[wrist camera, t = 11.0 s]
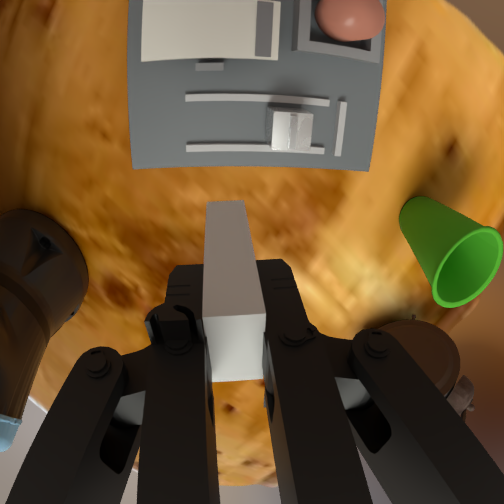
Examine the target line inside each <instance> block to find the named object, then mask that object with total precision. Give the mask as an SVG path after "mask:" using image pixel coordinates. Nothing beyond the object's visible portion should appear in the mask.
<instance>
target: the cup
mask: <svg viewBox="0 0 504 504" xmlns="http://www.w3.org/2000/svg"><path fill="white" fill-rule="evenodd" d="M399 223H400V228H401V231H402V233H403V234H404V236H405V238H406V240H407V241H408V243H409V245H410V247H411V249H412V251H413V252H414V254H415V256H416V258H417V260H418V262H419V264H420V265H421V267H422V269H423V271H424V273H425V275H426V277H427V279H428V281H429V283H430V285H431V287H432V295H433V299H434V300H435V301H436V303H437V304H439V305H441V306H443V307H447V308H454V307H458V306H461V305H463V304H466V303H468V302H469V301H471V300H472V299H474V298H475V297H476V296H478V295H479V294H480V293H481V292H482V291H483V290H484V289H485V288H486V287H487V285H488V284H489V283H490V281H491V280H492V279H493V277H494V276H495V274H496V272H497V270H498V268H499V265H500V262H501V259H502V254H503V242H502V239H501V236H500V233H499V232H498V231H497V230H496V229H495V228H492V227H490V226H483V225H481V224H479V223H477V222H475V221H474V220H472V219H470V218H468V217H466V216H464V215H462V214H461V213H459V212H457V211H455V210H453V209H451V208H449V207H447V206H445V205H443V204H441V203H439V202H437V201H435V200H433V199H431V198H429V197H426V196H418V197H414V198H412V199H410V200H409V201H408V202H407V203H406V204H405V205H404V206H403V208H402V210H401V213H400V216H399Z"/></svg>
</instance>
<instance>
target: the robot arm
mask: <svg viewBox="0 0 504 504" xmlns="http://www.w3.org/2000/svg"><path fill="white" fill-rule="evenodd" d="M87 289H88V272H87V267H86V264H85V261H84V259H83V256H82V254H81V252H80V250H79V249H78V247H77V245H76V244H75V242H74V241H73V240H72V238H71V237H70V236H69V235H68V234H67V233H66V232H65V231H64V230H63V229H62V228H61V227H60V226H59V225H58V224H57V223H55V222H54V221H52V220H51V219H49V218H48V217H46V216H44V215H42V214H40V213H37V212H34V211H30V210H24V209H17V210H12V211H8V212H6V213H4V214H3V215H1V216H0V452H3V451H5V450H7V449H9V448H10V447H11V445H12V442H13V439H14V437H15V434H16V432H17V429H18V427H19V425H20V424H21V423H22V415H23V412H24V408H25V405H26V402H27V399H28V396H29V393H30V390H31V387H32V384H33V381H34V378H35V375H36V373H37V370H38V367H39V365H40V362H41V359H42V357H43V354H44V352H45V349H46V347H47V344H48V342H49V340H50V338H51V337H52V336H53V335H54V334H55V333H56V332H57V331H58V330H59V329H60V328H61V327H62V325H63V324H64V323H65V322H66V321H68V320H69V319H71V318H72V317H73V316H74V315H75V314H76V313H77V311H78V310H79V308H80V306H81V304H82V302H83V299H84V297H85V295H86V292H87ZM144 322H145V325H146V328H147V331H148V335H149V338H150V341H151V345H149V346H148V347H146V348H144V349H142V350H139V351H137V352H133V353H129V354H125V355H122V356H121V355H120V354H119V353H118V352H117V351H116V350H114V349H112V348H110V347H101V346H100V347H96V348H92V349H90V350H88V351H86V352H85V353H83V354H82V355H81V356H80V358H79V359H78V360H77V361H76V363H75V365H74V367H73V368H72V370H71V372H70V373H69V375H68V377H67V379H66V380H65V382H64V384H63V386H62V388H61V389H60V391H59V393H58V395H57V397H56V398H55V400H54V402H53V404H52V406H51V408H50V410H49V411H48V413H47V415H46V417H45V419H44V421H43V423H42V425H41V427H40V429H39V431H38V433H37V435H36V437H35V439H34V441H33V443H32V445H31V447H30V449H29V451H28V453H27V455H26V458H25V460H24V462H23V464H22V466H21V469H20V471H19V473H18V475H17V478H16V480H15V482H14V484H13V487H12V489H11V491H10V494H9V496H8V499H7V501H6V503H5V504H120V502H121V499H122V495H123V493H124V490H125V487H126V484H127V481H128V478H129V475H130V473H131V470H132V467H133V464H134V461H135V458H136V455H137V453H138V450H139V447H140V453H139V468H138V486H137V504H220V495H219V481H218V466H217V450H216V433H215V412H214V396H213V391H212V382H221V381H238V380H252V379H263V375H264V381H265V394H264V407H266V408H267V415H268V421H269V428H270V434H271V441H272V447H273V454H274V460H275V466H276V473H277V479H278V485H279V492H280V498H281V504H373V502H372V499H371V495H370V492H369V489H368V485H367V481H366V478H365V474H364V471H363V467H362V464H361V460H360V457H359V454H358V451H357V447H358V449H359V451H360V452H361V454H362V456H363V457H364V459H365V460H366V462H367V463H368V465H369V467H370V468H371V470H372V472H373V473H374V475H375V476H376V478H377V480H378V481H379V483H380V485H381V486H382V488H383V489H384V491H385V492H386V494H387V496H388V497H389V499H390V501H391V502H392V504H504V474H503V473H502V472H501V470H500V469H499V467H498V466H497V465H496V463H495V462H494V461H493V459H492V458H491V457H490V455H489V454H488V453H487V451H486V450H485V449H484V447H483V446H482V444H481V443H480V442H479V440H478V439H477V438H476V437H475V435H474V434H473V433H472V431H471V430H470V429H469V427H468V426H467V425H466V424H465V422H464V421H463V420H462V418H461V417H460V416H459V415H458V413H457V412H456V411H455V409H454V408H453V407H452V406H451V404H450V403H449V402H448V401H447V399H446V398H445V397H444V396H443V394H442V393H441V392H440V391H439V389H438V388H437V387H436V386H435V385H434V383H433V382H432V381H431V380H430V378H429V377H428V376H427V375H426V374H425V372H424V371H423V370H422V369H421V368H420V366H419V365H418V364H417V363H416V362H415V360H414V359H413V358H412V357H411V356H410V355H409V353H408V352H407V351H406V350H405V349H404V347H403V346H402V345H401V344H400V343H399V342H398V340H397V339H396V338H395V337H393V336H392V335H391V334H390V333H388V332H385V331H383V330H381V329H373V328H371V329H365V330H362V331H360V332H359V333H357V334H356V335H355V337H354V338H353V340H347V339H340V338H333V337H329V336H326V335H324V334H321V333H320V332H319V331H318V330H317V328H316V327H315V326H314V325H312V324H311V323H310V322H309V320H308V318H307V315H306V312H305V309H304V306H303V303H302V300H301V297H300V294H299V291H298V288H297V285H296V282H295V280H294V276H293V273H292V270H291V267H290V266H289V265H288V264H287V263H285V262H284V261H283V260H282V259H269V260H255V255H254V250H253V245H252V240H251V235H250V230H249V224H248V219H247V214H246V209H245V204H244V200H239V201H217V202H207V209H206V227H205V248H204V264H195V265H177V266H176V267H175V268H174V270H173V271H172V272H171V273H170V275H169V279H168V285H167V291H166V297H165V303H163V304H161V305H159V306H157V307H155V308H154V309H152V310H151V311H150V312H149V313H148V315H147V317H146V319H145V321H144ZM356 446H357V447H356Z"/></svg>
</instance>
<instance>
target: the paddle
mask: <svg viewBox="0 0 504 504" xmlns="http://www.w3.org/2000/svg"><path fill="white" fill-rule="evenodd" d="M280 8H281V2H279V1H271V0H143V12H142V40H141V62H148V61H160V60H175V59H202V58H231V59H258V60H278V48H279V28H280Z"/></svg>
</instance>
